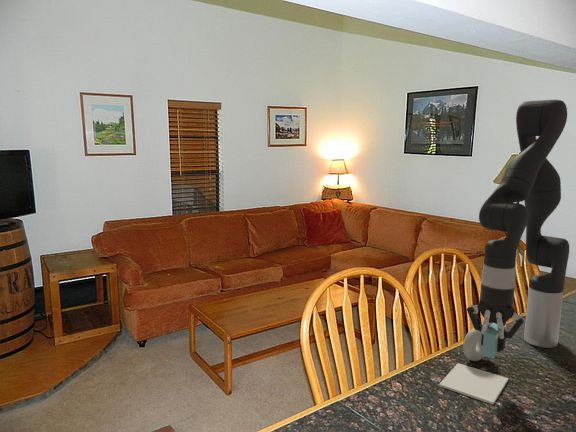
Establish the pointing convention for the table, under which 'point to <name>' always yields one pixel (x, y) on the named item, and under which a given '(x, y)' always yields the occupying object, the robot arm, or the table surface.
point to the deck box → (490, 341)
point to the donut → (473, 345)
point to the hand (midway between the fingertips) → (492, 349)
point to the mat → (474, 383)
